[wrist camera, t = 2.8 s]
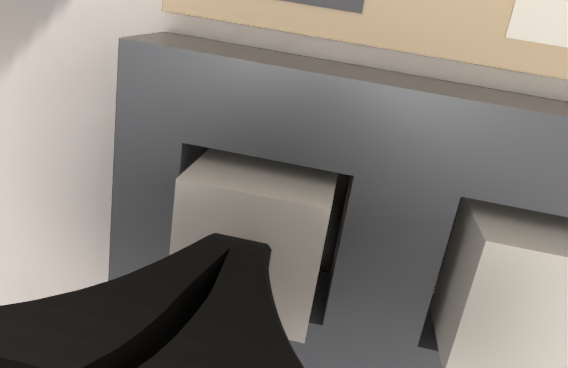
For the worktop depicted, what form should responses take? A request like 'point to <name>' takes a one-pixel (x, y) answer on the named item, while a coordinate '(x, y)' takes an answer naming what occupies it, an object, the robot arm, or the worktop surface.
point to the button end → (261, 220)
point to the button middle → (503, 289)
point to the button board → (336, 158)
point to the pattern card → (416, 27)
